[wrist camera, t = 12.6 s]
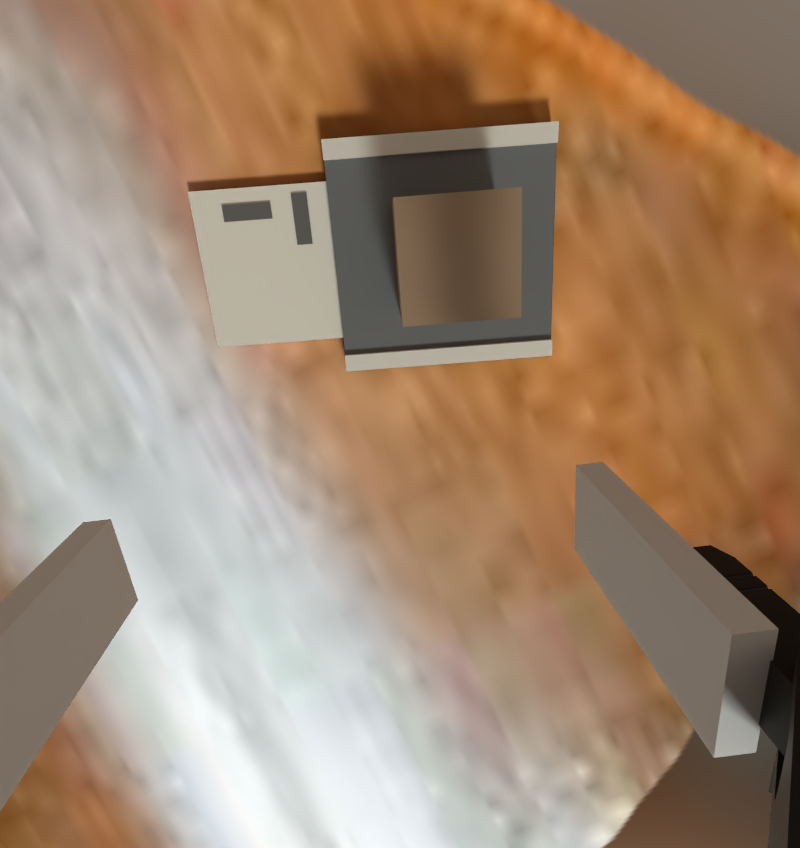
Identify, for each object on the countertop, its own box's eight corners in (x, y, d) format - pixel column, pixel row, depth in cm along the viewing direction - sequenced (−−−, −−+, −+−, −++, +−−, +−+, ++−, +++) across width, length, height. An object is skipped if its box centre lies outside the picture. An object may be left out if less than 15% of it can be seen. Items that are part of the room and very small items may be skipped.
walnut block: (399, 311, 31) (402, 326, 26) (391, 205, 29) (393, 197, 24) (496, 303, 31) (521, 317, 26) (495, 197, 29) (521, 186, 24)
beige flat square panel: (219, 346, 33) (217, 347, 32) (189, 192, 30) (187, 191, 29) (360, 335, 33) (359, 336, 32) (344, 180, 30) (344, 179, 29)
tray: (347, 367, 33) (346, 371, 32) (323, 142, 29) (321, 139, 28) (546, 351, 33) (551, 355, 32) (552, 125, 29) (558, 121, 28)
